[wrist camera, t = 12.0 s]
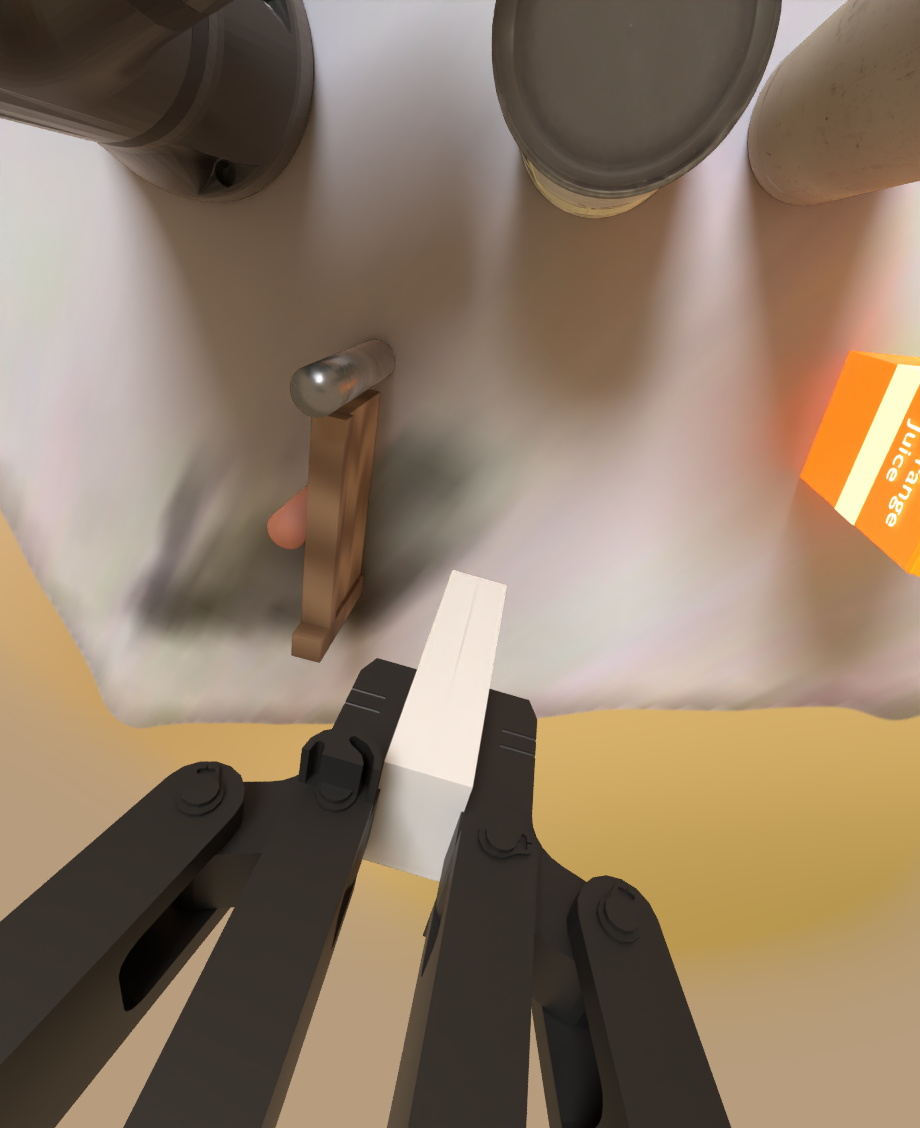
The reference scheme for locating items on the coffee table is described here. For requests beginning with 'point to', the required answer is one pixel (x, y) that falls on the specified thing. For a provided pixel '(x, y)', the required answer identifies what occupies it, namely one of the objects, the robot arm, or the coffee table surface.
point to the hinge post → (341, 377)
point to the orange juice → (874, 452)
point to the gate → (335, 521)
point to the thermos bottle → (843, 107)
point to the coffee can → (624, 90)
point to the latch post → (290, 522)
